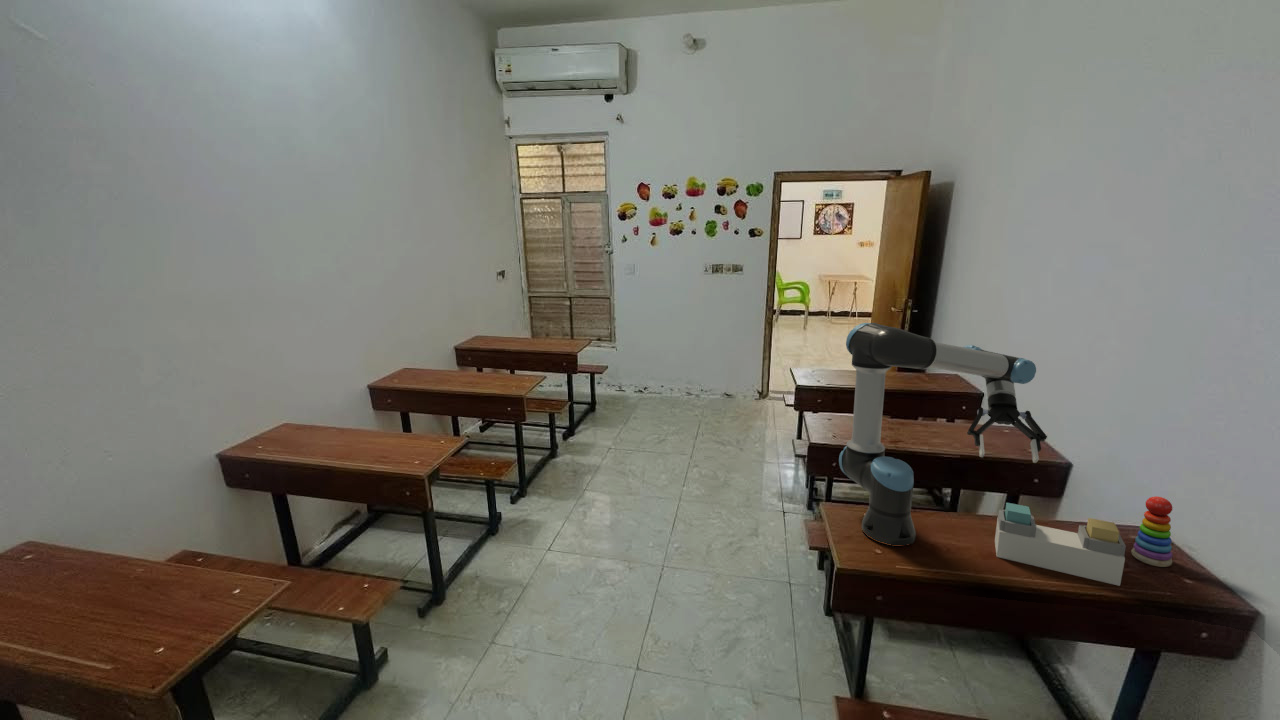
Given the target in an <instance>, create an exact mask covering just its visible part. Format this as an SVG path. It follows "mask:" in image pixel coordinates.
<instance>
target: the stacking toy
mask: <svg viewBox="0 0 1280 720" xmlns="http://www.w3.org/2000/svg"><path fill="white" fill-rule="evenodd" d="M1145 508H1146V509H1147V510H1146V511H1145V512H1144V513H1143V516H1144V518H1143V519H1142V520H1141V523H1140V525H1139V530H1137V535H1136V537H1135V539H1134V540H1135V542H1134V543H1133V547H1132V549H1130V551H1131V555H1132V557H1134V558H1135V559H1137V560H1138V561H1140V562H1142V563H1144V564H1146V565H1150V566H1153V567H1159V568H1165V567H1166V568H1167V567H1170V566H1171V565H1173V560H1172V558H1173V552H1172V548H1173V546H1172V545H1171V544H1172V538H1171V535H1172V533H1171V529H1172V526H1171V524H1170V522H1171V517H1170V516H1169V515H1170V514H1171V513H1172V511H1173V504H1172V502H1171V501H1169V499H1166V498H1165V497H1161V496H1150V497H1149V498H1147V499H1146V501H1145Z"/></svg>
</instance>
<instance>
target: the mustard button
mask: <svg viewBox="0 0 1280 720" xmlns="http://www.w3.org/2000/svg"><path fill="white" fill-rule="evenodd" d="M1086 523H1087V525H1086V526H1087V529H1086V530H1087V532H1088V534H1089V537H1090V538H1094V539H1099V540H1104V541H1109V542H1114V543H1118V538H1119V534H1120V530H1119V528H1118V527H1117V525H1116V523H1115V522H1112V521H1106V520H1102V519H1096V518H1090V517H1088V518H1087V522H1086Z"/></svg>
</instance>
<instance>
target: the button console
mask: <svg viewBox="0 0 1280 720" xmlns="http://www.w3.org/2000/svg"><path fill="white" fill-rule="evenodd" d="M1086 529H1087V525H1085V524H1083V525H1082V524H1081V525H1080V524H1079V525H1078V531H1077V532H1074V531H1069V530H1063V529H1059V528H1053V527H1049V526H1045V525H1038V524H1036V521H1035V517H1034V515H1031V519H1030V525H1025V524H1020V523H1015V522H1010V521H1006V517H1005V509H998V516H997V519H996V528H995V535H994V546H995V553H996V554H995V555H996V557H997V558H1000V559H1004V560H1008V561H1013V562H1017V563H1021V564H1026V565H1030V566H1034V567H1037V568H1043V569H1045V570H1051V571H1055V572H1060V573H1064V574H1068V575H1073V576H1076V577H1081V578H1084V579H1088V580H1093V581H1097V582H1101V583H1106V584H1110V585H1115V586H1119V587H1120V586H1121V583H1122V579H1123V578H1122V577H1123V572H1124V567H1125V560H1126V557H1125V553H1126V547H1127V545H1126V543H1125V541H1124V540H1123V538H1122V536H1121V535H1120V533H1119V538H1118V543H1114V542H1109V541H1104V540H1099V539H1094V538H1090V537H1089V534H1088V532H1087V530H1086Z"/></svg>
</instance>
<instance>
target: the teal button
mask: <svg viewBox="0 0 1280 720" xmlns="http://www.w3.org/2000/svg"><path fill="white" fill-rule="evenodd" d="M1004 510H1005V517H1006V521H1010V522H1015V523H1020V524H1025V525H1030V519H1031V516H1032V513H1031V510H1030V507H1029V506H1026V505H1021V504H1016V503H1010V502H1005V509H1004Z"/></svg>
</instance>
